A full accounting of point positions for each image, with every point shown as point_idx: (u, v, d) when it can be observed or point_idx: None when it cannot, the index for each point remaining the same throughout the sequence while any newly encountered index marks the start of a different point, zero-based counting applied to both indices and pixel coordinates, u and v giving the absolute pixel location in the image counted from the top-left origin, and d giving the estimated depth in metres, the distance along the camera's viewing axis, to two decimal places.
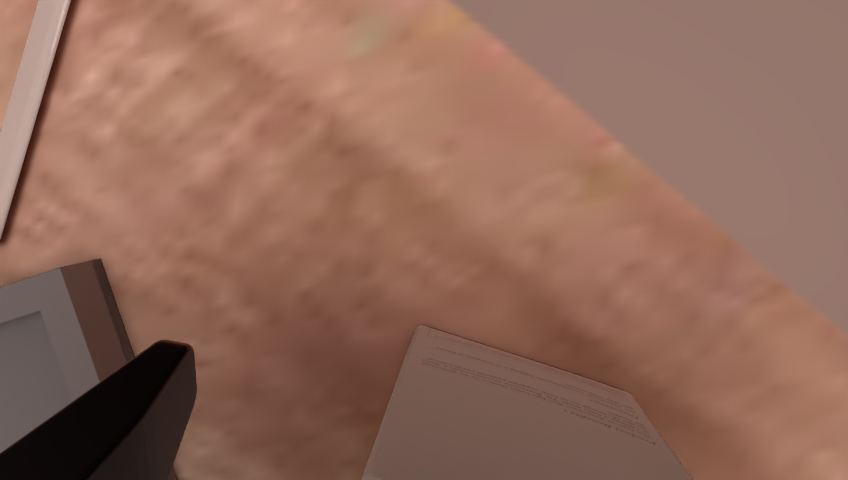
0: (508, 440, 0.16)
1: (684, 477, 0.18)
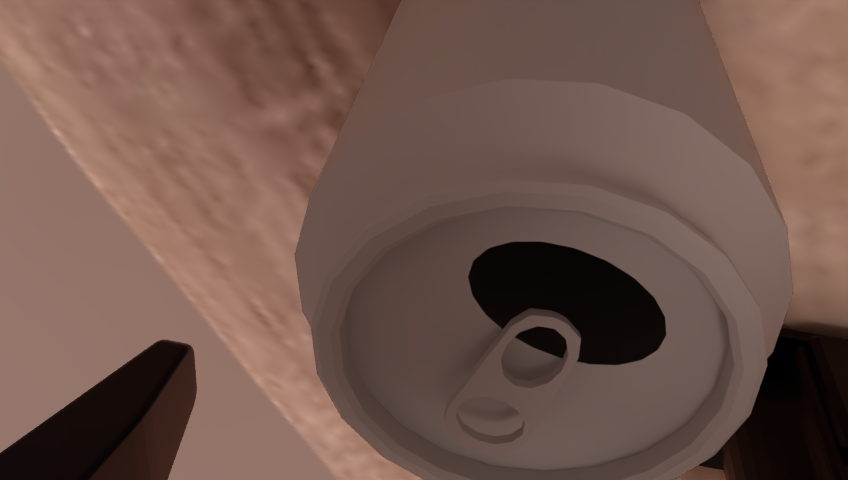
0: None
1: None
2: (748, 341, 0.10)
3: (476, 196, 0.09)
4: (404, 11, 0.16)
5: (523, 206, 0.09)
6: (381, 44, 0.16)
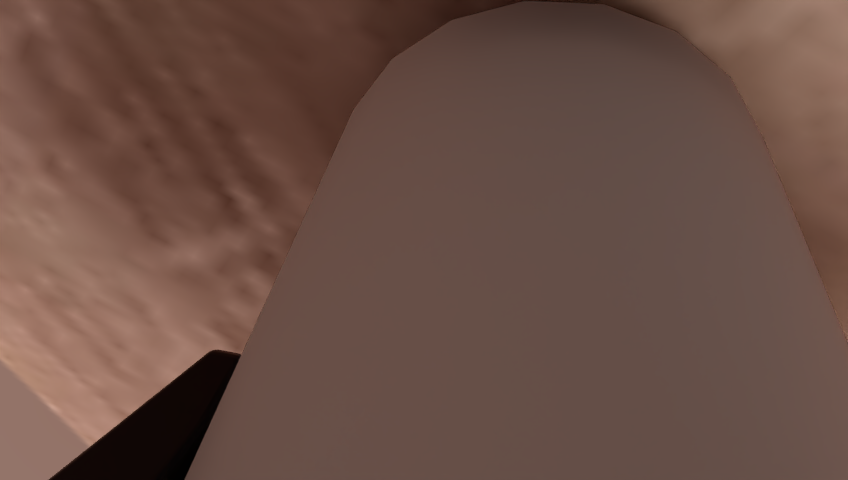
0: None
1: None
2: None
3: None
4: (328, 196, 0.10)
5: None
6: (293, 243, 0.10)
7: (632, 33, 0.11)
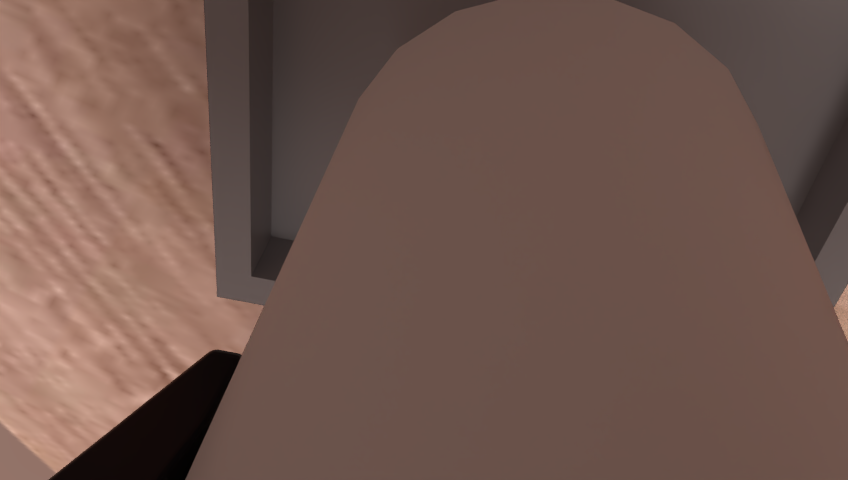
0: None
1: None
2: None
3: None
4: (335, 180, 0.10)
5: None
6: (301, 226, 0.11)
7: (632, 24, 0.12)
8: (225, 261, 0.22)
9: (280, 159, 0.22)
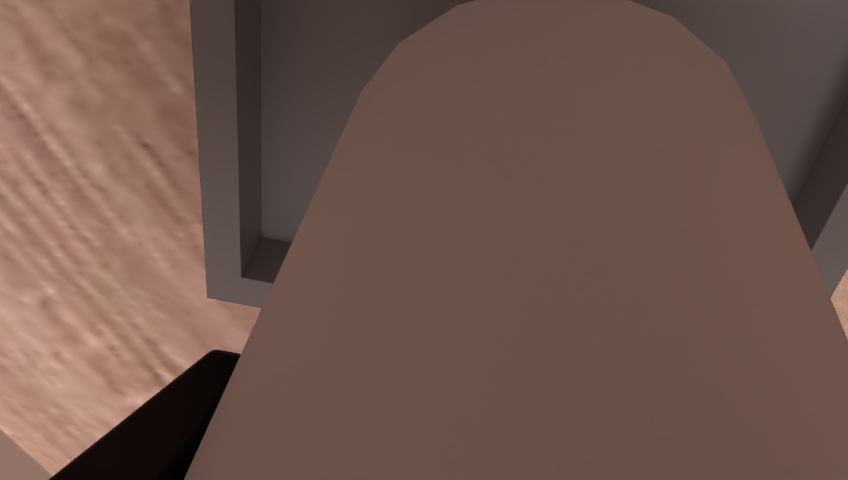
0: None
1: None
2: None
3: None
4: (339, 170, 0.11)
5: None
6: (305, 216, 0.11)
7: (632, 18, 0.12)
8: (214, 262, 0.22)
9: (269, 160, 0.22)
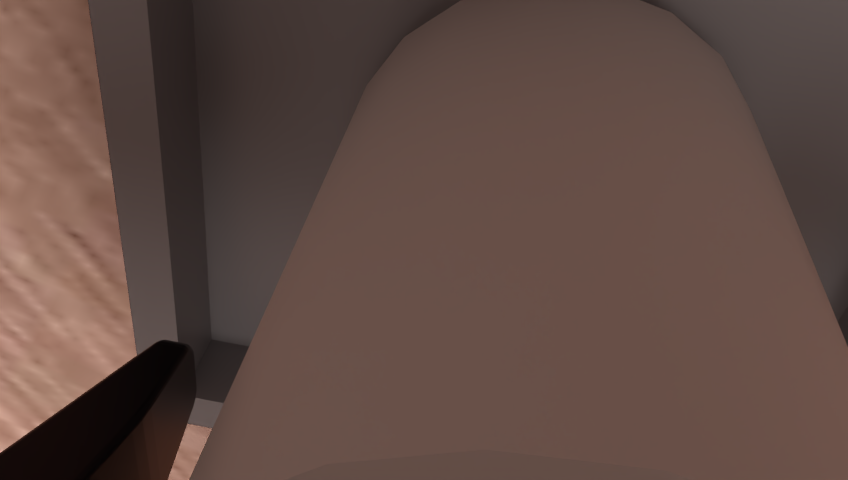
0: None
1: None
2: None
3: None
4: (347, 159, 0.11)
5: None
6: (314, 203, 0.11)
7: (630, 12, 0.12)
8: None
9: (216, 257, 0.18)
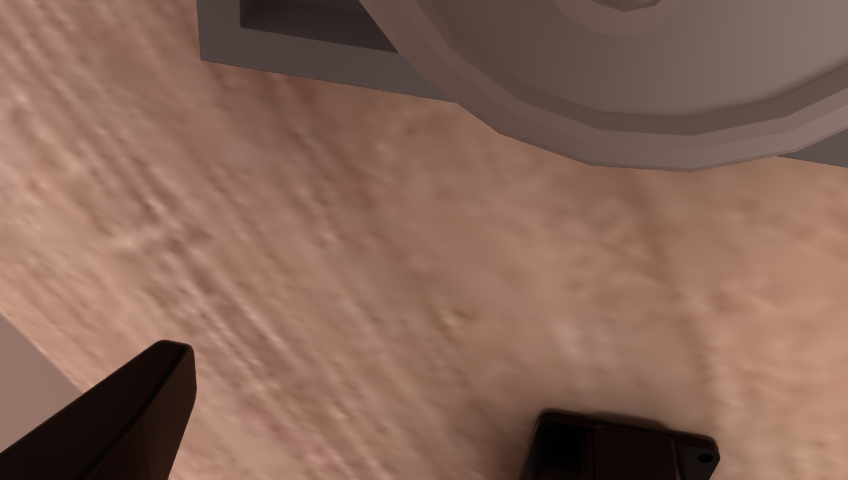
0: None
1: None
2: None
3: None
4: None
5: None
6: None
7: None
8: (208, 7, 0.18)
9: None
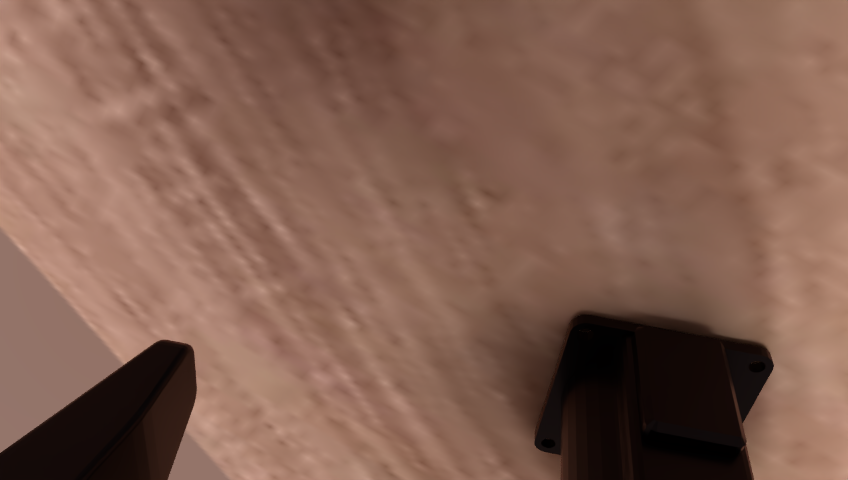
0: None
1: None
2: None
3: None
4: None
5: None
6: None
7: None
8: None
9: None
